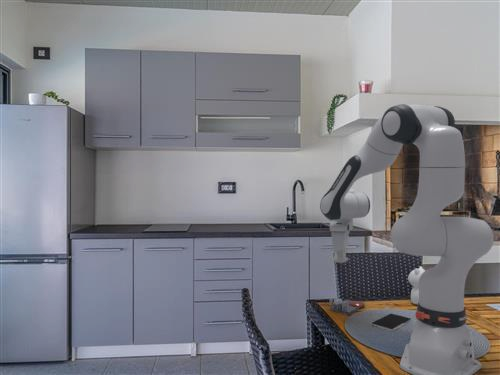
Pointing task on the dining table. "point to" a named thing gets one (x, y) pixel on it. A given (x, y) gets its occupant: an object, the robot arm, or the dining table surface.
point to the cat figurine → (415, 284)
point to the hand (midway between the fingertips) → (341, 260)
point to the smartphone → (391, 322)
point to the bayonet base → (345, 306)
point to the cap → (337, 257)
